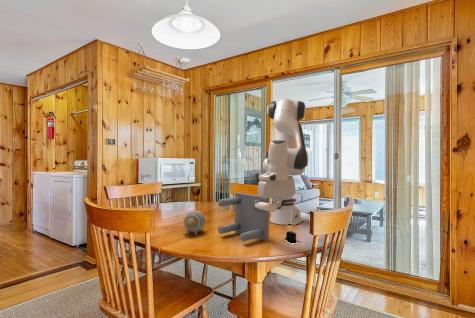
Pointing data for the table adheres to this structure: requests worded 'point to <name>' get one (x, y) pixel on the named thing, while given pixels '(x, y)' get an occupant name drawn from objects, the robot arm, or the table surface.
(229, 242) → the table surface
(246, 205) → the stool
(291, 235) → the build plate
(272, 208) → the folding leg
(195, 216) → the toy sheep
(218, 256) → the table surface
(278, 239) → the table surface
